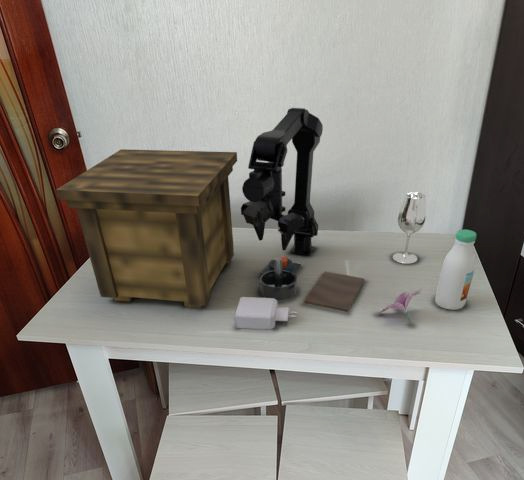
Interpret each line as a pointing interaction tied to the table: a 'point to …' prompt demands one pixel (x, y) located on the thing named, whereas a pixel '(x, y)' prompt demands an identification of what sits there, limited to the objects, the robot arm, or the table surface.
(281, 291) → the dark fan housing
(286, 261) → the button
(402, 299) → the lily
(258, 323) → the charger
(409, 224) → the wineglass
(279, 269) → the blade
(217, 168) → the crate
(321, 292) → the cutting board
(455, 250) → the milk bottle
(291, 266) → the button block
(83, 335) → the table surface
